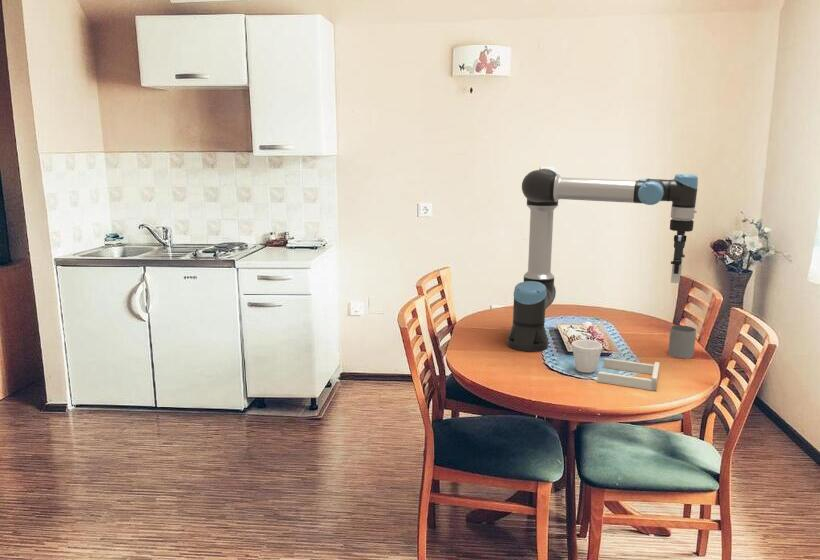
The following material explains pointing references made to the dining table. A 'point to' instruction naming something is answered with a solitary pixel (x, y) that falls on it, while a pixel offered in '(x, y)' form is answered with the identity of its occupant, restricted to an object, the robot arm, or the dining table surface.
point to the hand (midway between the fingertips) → (675, 279)
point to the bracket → (630, 380)
